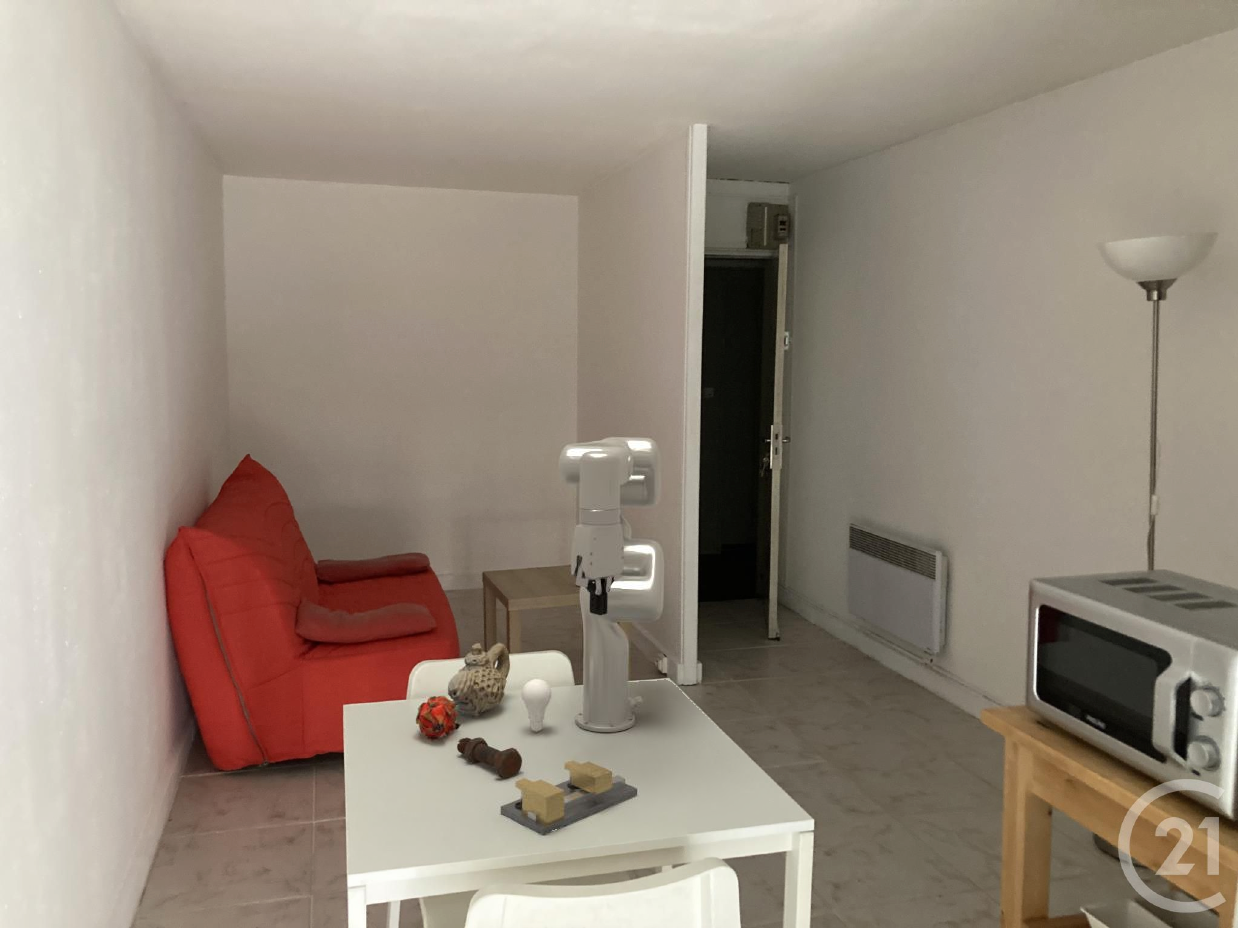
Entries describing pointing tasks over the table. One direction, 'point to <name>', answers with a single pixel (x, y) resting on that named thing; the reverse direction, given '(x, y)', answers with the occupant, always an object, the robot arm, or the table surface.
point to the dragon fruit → (437, 717)
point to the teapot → (480, 680)
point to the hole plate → (571, 811)
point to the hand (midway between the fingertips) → (598, 613)
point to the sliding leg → (589, 776)
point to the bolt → (491, 756)
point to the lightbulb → (536, 701)
